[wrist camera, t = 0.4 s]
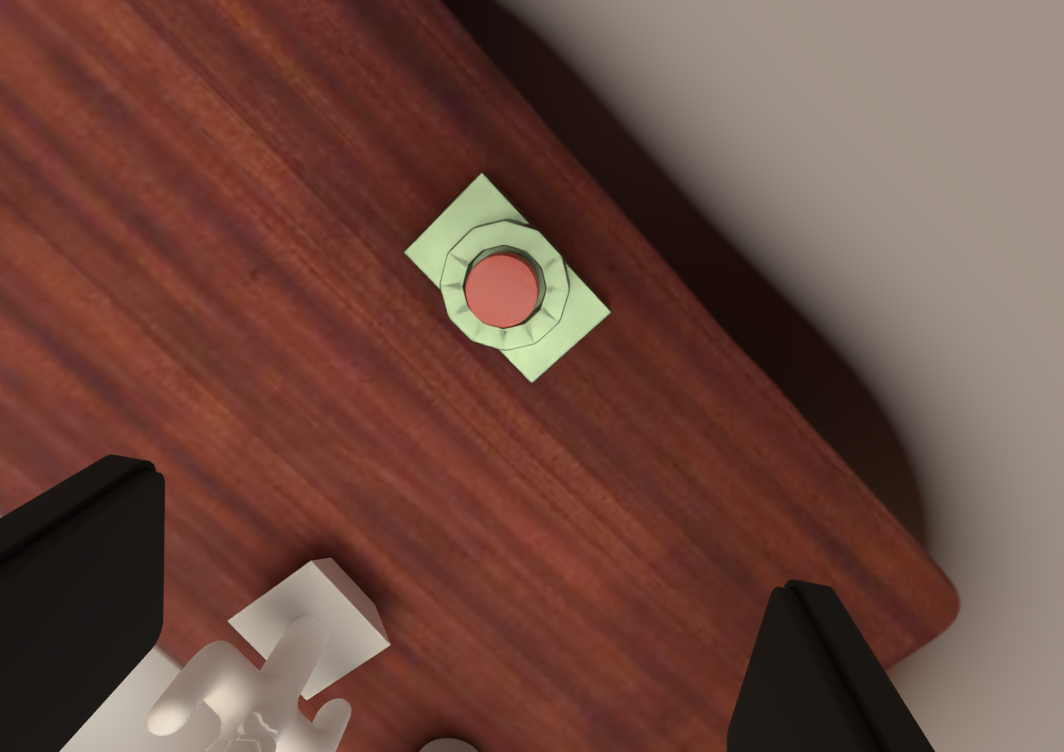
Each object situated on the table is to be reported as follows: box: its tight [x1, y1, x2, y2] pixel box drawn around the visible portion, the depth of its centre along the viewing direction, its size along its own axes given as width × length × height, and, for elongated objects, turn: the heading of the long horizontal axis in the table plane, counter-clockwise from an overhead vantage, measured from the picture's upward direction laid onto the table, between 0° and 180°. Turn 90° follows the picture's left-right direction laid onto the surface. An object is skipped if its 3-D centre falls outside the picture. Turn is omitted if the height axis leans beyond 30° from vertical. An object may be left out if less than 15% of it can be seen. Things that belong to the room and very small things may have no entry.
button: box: [465, 251, 540, 328], centre depth 34 cm, size 4×4×2 cm
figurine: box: [146, 558, 390, 752], centre depth 38 cm, size 7×9×15 cm
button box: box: [404, 172, 611, 383], centre depth 36 cm, size 10×6×4 cm, turn 44°
